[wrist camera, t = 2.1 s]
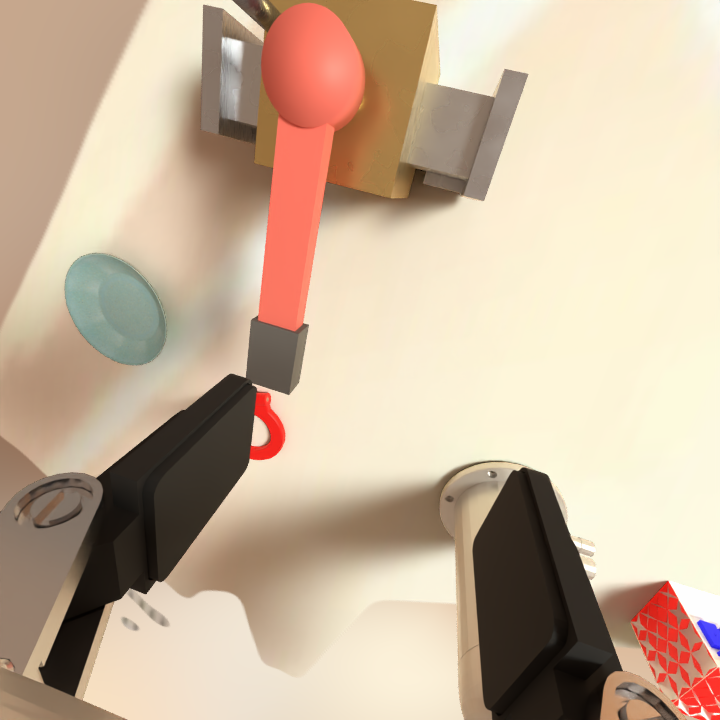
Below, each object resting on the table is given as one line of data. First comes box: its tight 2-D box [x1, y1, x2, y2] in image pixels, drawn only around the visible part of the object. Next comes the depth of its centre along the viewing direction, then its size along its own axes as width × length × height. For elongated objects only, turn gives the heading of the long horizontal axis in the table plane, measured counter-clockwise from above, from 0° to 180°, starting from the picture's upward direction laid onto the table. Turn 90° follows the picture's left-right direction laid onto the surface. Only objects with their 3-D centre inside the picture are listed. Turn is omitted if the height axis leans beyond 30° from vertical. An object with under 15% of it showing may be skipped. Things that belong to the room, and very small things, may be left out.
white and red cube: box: [630, 581, 720, 720], centre depth 36 cm, size 8×8×8 cm
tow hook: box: [250, 393, 285, 460], centre depth 36 cm, size 8×13×9 cm
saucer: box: [65, 253, 167, 365], centre depth 38 cm, size 12×12×2 cm
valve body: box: [201, 0, 528, 201], centre depth 21 cm, size 18×8×14 cm, turn 77°
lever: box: [246, 3, 365, 395], centre depth 18 cm, size 18×4×2 cm, turn 167°
